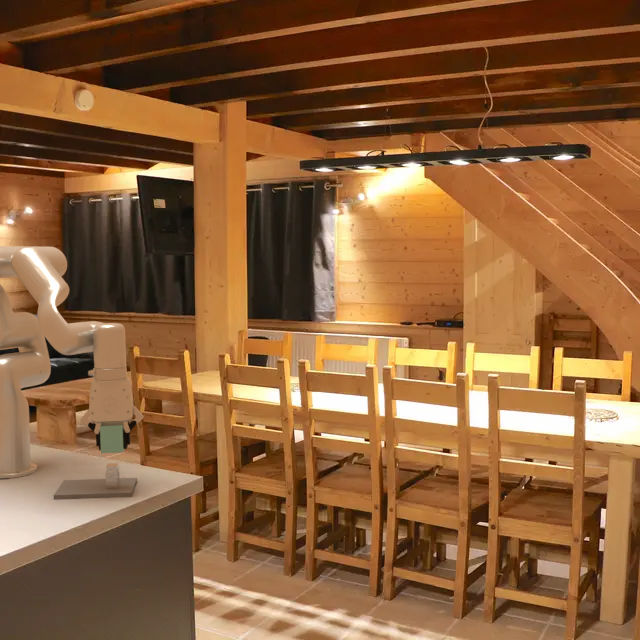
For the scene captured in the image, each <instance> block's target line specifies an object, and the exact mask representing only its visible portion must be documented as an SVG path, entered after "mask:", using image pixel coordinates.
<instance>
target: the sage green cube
mask: <svg viewBox="0 0 640 640" xmlns="http://www.w3.org/2000/svg"><path fill="white" fill-rule="evenodd" d="M123 433H124V427H123V424H122V422H106V423H102V425H101V426H100V441H101V450H100V454H116V453H117V454H119V453H121V454H122V453H124V452H125V450H126V449H124V442H123Z"/></svg>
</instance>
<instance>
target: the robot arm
mask: <svg viewBox="0 0 640 640" xmlns="http://www.w3.org/2000/svg"><path fill="white" fill-rule="evenodd" d="M67 268H68V260H67V257H66V256H65V254H64V253H63V252H62V251H61V250H60V249H59V248H57V247H54V246H34V245H33V246H32V245H31V246H27V245H25V246H24V245H23V246H22V245H16V246H14V245H0V279H17V278H18V279H19V281H20V282H21V283H22V285H24V287H25V288H26V289H27V291H28V292H29V293H30V295H31V296H32V298H33V299H34V300H35V301H36V303H37V304H38V308H37V317H36V316H35V314H33V313H31V312H26V311H19V312H17V311H16V312H14V310H13V308H12V305H11V304H12V303H11V300H10V297H9V294H8V292H7V290H6V289H5V288H4V287H3V285H1V284H0V351H2V350H9V349H17V348H18V351H19V352H12V353H4V354H1V355H0V479H14V478H20V477H24V476H29V475H32V474H34V473H35V472H36V471H37V470H38V465H37V463H34V462H32V461H31V460H32V459H31V458H32V457H31V434H30V433H31V430H30V427H31V426H30V425H31V424H30V407H29V406H30V405H29V402H28V399H27V398H26V396H25V394H24V393H23V391H22V389H24V388H28V387H29V388H30V387H35V386H38V385H41V384H44V383H45V382H46V381H47V380H48V379H49V378H50V375H51V371H52V369H51V365H52V364H51V360H50V355H49V354H50V353H49V350H48V345H47V342H46V341H48V343H49V344H50V345H51V347H53V349H54V350H55V351H57V352H58V353H60V354H61V355H64V356H72V355H77V354H84V353H87V354H88V353H92V352H93V365H94V366H93V367H94V368H93V369H90V370H88V371H87V375H88V376H89V377H93V379H94V380H91V382H90V389H89V405H88V407H89V408H88V410H87V411H86V412H85V413H84V414H83V416H82V417H81V418H80V422H81V423H82V424H84V425H86V426H87V427H88V428H89V429H90V430H91V431H92V432H93V433H94V434H95V443H96V447H98V451H101V441H100V426H101V425H102V423H106V422H122V424H123V427H124V433H123V442H124V449H125V450H127V449H128V447H129V445H130V444H131V431H132V429H134V428H135V426H137V424H139V423H140V422H141V421H142V420H143V419H144V418H145V417H144V415H143V413H142V412H141V411H140V410H139V409H138V408H137V407H136V406H135V405H134V404H135V403H134V394H133V388H132V384H131V380H130V378H128V373H127V372H128V371H127V368H128V367H127V366H128V365H127V349H126V348H127V345H126V328H125V326H124V325H123V323H120V322H119V323H117V322H107V323H105V322H101V321H94V320H91V321H81V322H80V321H79V322H72V323H71V322H70V323H68V322H67V321H66V320H65V319H64V317H63V316H62V314H61V313H60V311H59V309H58V308H57V307H58V306H60V305H61V304H62V303H63V302H65V300H66V299H67V298H68V296H69V294H70V287H69V285H68V283H67V282H66V281H65V279H64V278H63V277H62V276H64V275H65V273H66V271H67ZM133 416H135V418H134V419H133ZM132 419H133V420H132ZM130 421H131V422H130Z"/></svg>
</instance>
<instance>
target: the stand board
mask: <svg viewBox="0 0 640 640" xmlns="http://www.w3.org/2000/svg"><path fill="white" fill-rule="evenodd" d="M137 482H138V478H137V477H121V478H120V477H119V486H118V488H109V489H107V479H106V478H91V479H90V478H87V479H85V478H84V479H63V481H62V482H61V483H60V485H59V487H58V488H57V489H56V491H55V492H54V494H53V500H70V499H71V500H72V499H100V498H103V499H104V498H121V497H122V498H124V497H125V498H127V497H132V496H133V493H134V491H135V488H136V486H137Z"/></svg>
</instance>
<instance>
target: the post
mask: <svg viewBox="0 0 640 640" xmlns="http://www.w3.org/2000/svg"><path fill="white" fill-rule="evenodd" d="M105 469H106V470H105V471H106V472H105V474H106V478H105V479H107V489H109V488H118V486H119V478H120V465H119V463H118V462H117V463H111V462H110V463H107V464H106V466H105Z"/></svg>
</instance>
